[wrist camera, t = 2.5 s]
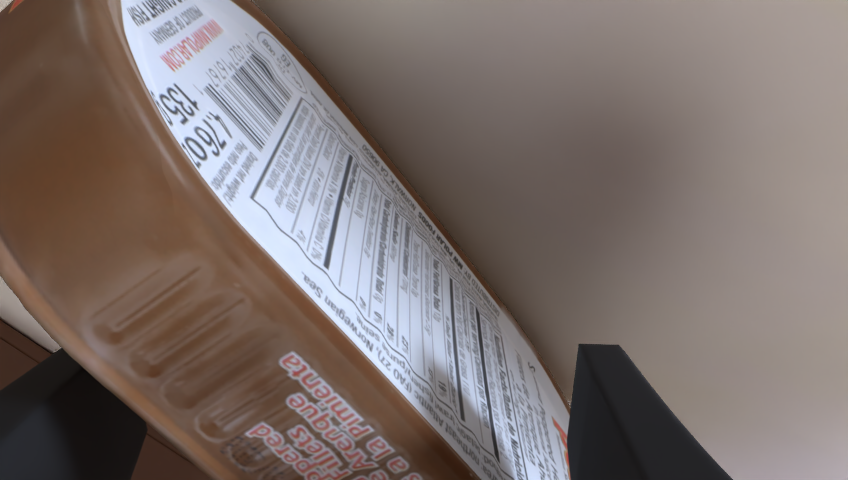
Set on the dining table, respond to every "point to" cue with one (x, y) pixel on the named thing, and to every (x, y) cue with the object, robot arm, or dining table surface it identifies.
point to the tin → (250, 255)
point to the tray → (159, 460)
